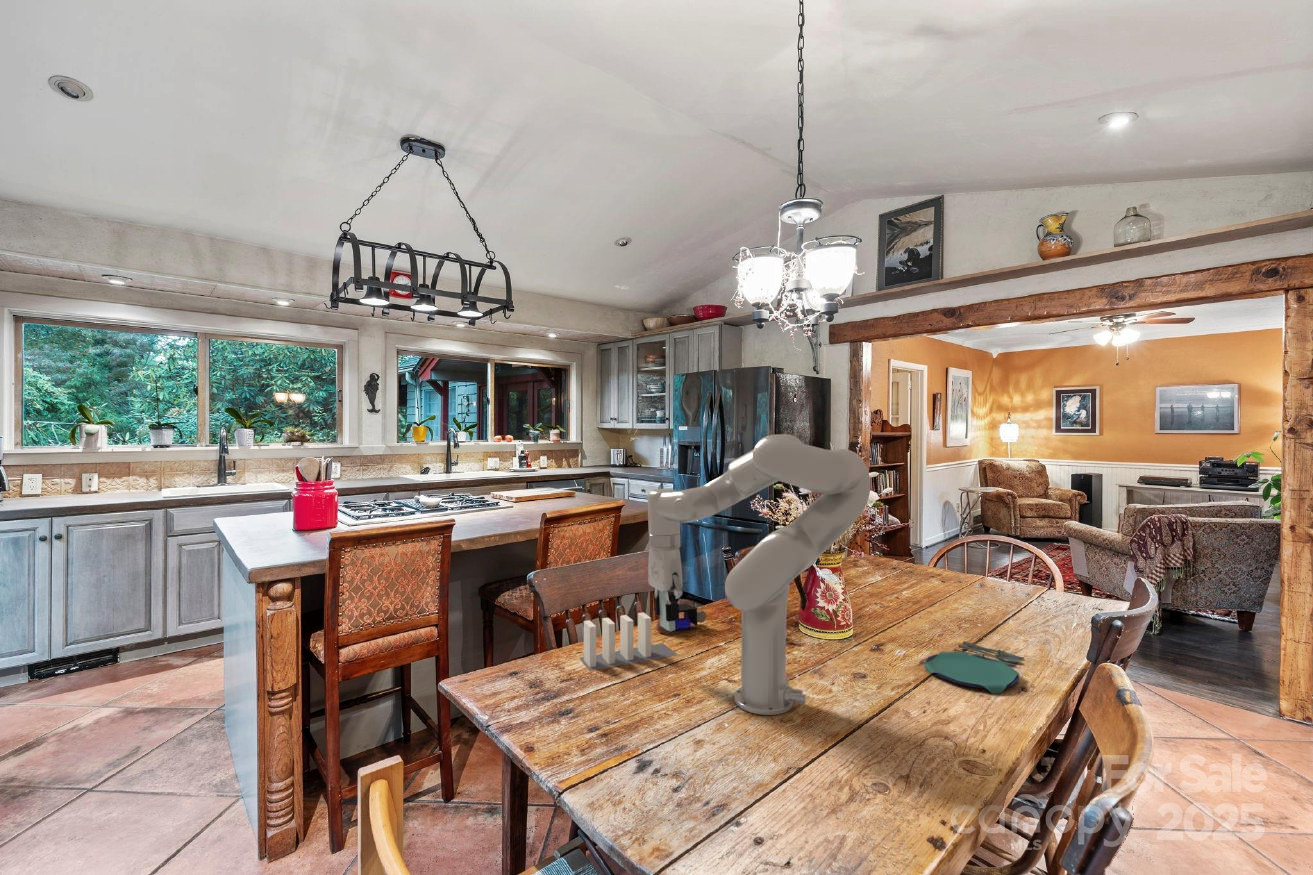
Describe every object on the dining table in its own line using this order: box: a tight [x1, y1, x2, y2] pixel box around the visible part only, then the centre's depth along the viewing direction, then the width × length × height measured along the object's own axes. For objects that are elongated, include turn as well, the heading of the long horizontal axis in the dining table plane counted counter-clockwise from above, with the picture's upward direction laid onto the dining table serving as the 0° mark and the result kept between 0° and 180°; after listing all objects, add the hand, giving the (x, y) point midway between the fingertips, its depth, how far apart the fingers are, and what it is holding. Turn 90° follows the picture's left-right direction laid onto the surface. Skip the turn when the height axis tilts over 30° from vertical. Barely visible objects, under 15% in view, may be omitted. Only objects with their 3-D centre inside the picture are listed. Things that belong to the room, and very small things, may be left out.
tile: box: [659, 587, 676, 632], centre depth 139 cm, size 2×5×10 cm, turn 25°
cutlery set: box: [924, 640, 1025, 695], centre depth 143 cm, size 20×30×2 cm, turn 134°
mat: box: [578, 642, 678, 672], centre depth 150 cm, size 24×9×1 cm, turn 115°
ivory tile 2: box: [619, 614, 634, 661], centre depth 150 cm, size 2×5×10 cm, turn 25°
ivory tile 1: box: [637, 612, 652, 657], centre depth 152 cm, size 2×5×10 cm, turn 25°
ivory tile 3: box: [601, 617, 616, 664], centre depth 148 cm, size 2×5×10 cm, turn 25°
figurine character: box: [653, 603, 707, 635], centre depth 171 cm, size 7×8×15 cm
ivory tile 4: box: [583, 620, 597, 667], centre depth 146 cm, size 2×5×10 cm, turn 25°
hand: (667, 616), depth 139 cm, fingers closed on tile, 4 cm apart
